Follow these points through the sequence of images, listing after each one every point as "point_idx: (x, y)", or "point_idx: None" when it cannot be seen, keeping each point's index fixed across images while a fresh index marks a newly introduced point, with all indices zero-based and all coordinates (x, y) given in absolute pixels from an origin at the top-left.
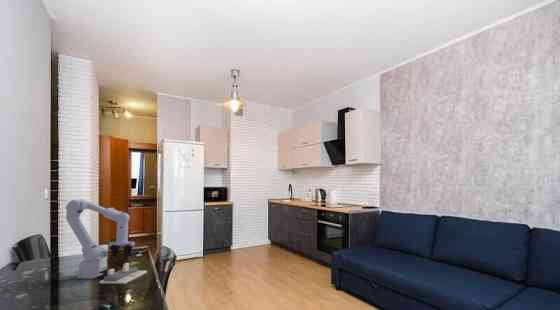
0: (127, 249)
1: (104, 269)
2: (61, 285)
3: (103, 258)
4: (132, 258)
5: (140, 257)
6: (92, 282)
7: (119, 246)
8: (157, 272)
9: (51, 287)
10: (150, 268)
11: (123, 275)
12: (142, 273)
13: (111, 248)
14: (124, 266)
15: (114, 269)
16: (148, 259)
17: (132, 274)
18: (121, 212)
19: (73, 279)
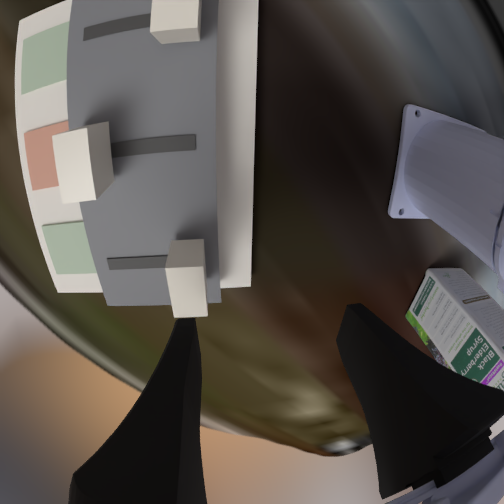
0: (96, 458)
1: (415, 299)
2: (476, 17)
3: (460, 339)
4: (348, 426)
5: (321, 438)
6: (341, 11)
7: (383, 481)
8: (11, 288)
9: (489, 4)
10: (123, 357)
11: (72, 81)
12: (41, 238)
13: (489, 400)
14: (186, 251)
15: (150, 32)
16: (268, 437)
17: None
18: None
19: (488, 121)
